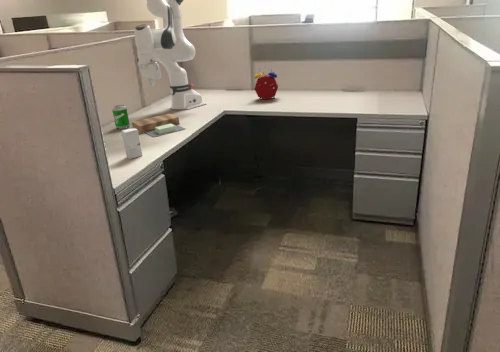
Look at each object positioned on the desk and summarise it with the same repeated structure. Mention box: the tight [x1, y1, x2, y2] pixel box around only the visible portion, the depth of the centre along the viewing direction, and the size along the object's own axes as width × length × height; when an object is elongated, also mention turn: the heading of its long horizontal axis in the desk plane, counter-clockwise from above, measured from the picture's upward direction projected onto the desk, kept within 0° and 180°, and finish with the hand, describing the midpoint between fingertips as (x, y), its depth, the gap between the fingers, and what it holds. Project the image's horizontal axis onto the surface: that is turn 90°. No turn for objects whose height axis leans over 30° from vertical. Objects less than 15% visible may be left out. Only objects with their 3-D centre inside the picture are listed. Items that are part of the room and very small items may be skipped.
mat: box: [144, 124, 186, 138], centre depth 218 cm, size 18×11×1 cm, turn 124°
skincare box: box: [121, 127, 143, 160], centre depth 182 cm, size 6×4×12 cm
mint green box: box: [155, 124, 176, 134], centre depth 216 cm, size 9×6×2 cm, turn 124°
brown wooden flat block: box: [131, 113, 181, 134], centre depth 226 cm, size 22×12×4 cm, turn 124°
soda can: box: [111, 104, 131, 130], centre depth 229 cm, size 8×8×12 cm
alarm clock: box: [254, 66, 279, 101], centre depth 262 cm, size 15×9×20 cm, turn 84°
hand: (152, 86), depth 218 cm, fingers closed
